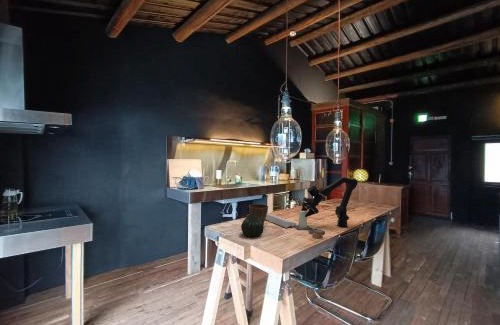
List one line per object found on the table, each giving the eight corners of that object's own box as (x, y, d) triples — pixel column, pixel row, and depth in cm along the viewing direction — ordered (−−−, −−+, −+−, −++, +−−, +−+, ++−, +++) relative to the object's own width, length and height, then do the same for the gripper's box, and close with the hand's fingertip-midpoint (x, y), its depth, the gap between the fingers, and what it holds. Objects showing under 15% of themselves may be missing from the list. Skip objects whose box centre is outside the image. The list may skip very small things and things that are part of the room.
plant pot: (267, 224, 197) (268, 204, 197) (267, 230, 182) (267, 208, 182) (249, 223, 199) (249, 203, 198) (247, 228, 184) (247, 207, 184)
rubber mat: (306, 225, 196) (306, 224, 196) (312, 229, 186) (312, 228, 186) (293, 226, 194) (293, 225, 194) (298, 230, 184) (298, 229, 184)
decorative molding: (270, 219, 221) (260, 218, 216) (271, 214, 222) (262, 212, 217) (295, 229, 192) (285, 227, 187) (296, 223, 192) (286, 221, 187)
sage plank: (304, 226, 193) (304, 210, 192) (306, 227, 189) (307, 211, 188) (298, 226, 191) (298, 210, 191) (300, 227, 188) (301, 212, 187)
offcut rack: (316, 231, 182) (316, 228, 182) (325, 233, 176) (325, 231, 176) (308, 233, 177) (308, 230, 177) (317, 236, 171) (317, 233, 171)
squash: (266, 231, 161) (262, 210, 170) (243, 233, 158) (241, 212, 167) (262, 240, 171) (259, 220, 181) (241, 242, 168) (238, 221, 178)
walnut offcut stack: (316, 236, 172) (316, 229, 172) (322, 238, 168) (323, 231, 168) (311, 237, 168) (312, 230, 168) (318, 239, 165) (318, 232, 164)
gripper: (304, 191, 200) (291, 205, 197) (315, 195, 181) (300, 210, 179) (312, 201, 202) (299, 215, 199) (324, 205, 183) (310, 221, 181)
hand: (302, 215), depth 190 cm, fingers open, 9 cm apart
